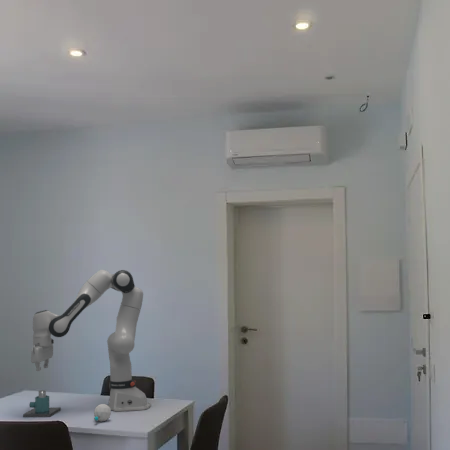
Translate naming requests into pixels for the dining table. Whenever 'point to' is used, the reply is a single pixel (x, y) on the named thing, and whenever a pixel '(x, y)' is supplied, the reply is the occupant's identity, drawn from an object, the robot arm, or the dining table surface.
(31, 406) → the sleeve
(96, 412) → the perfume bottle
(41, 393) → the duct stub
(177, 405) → the dining table surface
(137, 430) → the dining table surface
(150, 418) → the dining table surface
